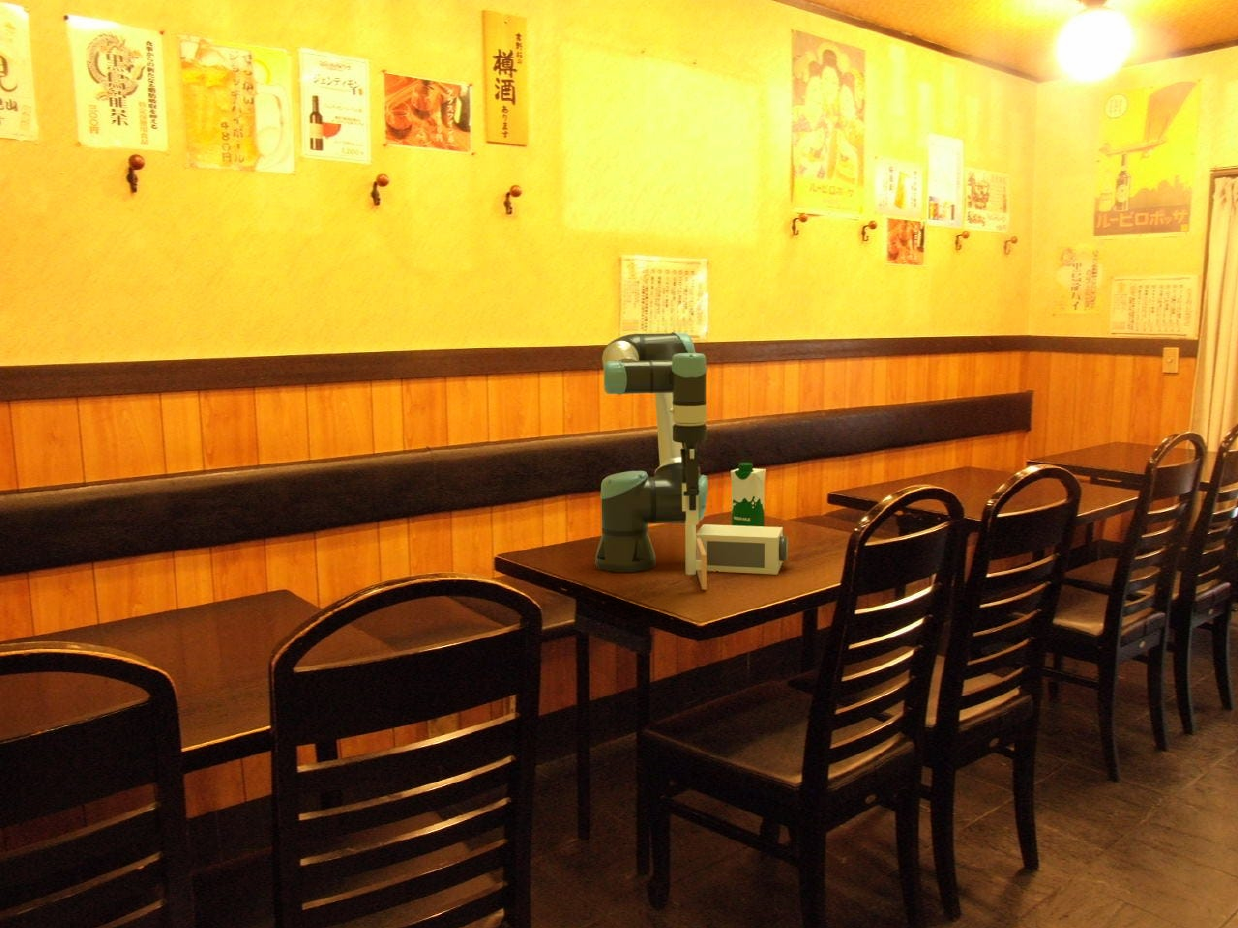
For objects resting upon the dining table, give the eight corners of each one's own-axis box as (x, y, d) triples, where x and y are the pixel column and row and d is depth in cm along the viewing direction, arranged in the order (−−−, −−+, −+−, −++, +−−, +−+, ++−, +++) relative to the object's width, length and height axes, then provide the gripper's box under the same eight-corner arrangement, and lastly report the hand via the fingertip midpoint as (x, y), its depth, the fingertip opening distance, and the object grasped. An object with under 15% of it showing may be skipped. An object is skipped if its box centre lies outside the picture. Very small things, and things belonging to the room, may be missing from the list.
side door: (680, 569, 239) (680, 506, 236) (700, 568, 239) (700, 506, 236) (686, 590, 221) (685, 522, 218) (707, 589, 221) (707, 522, 218)
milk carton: (727, 533, 280) (727, 463, 277) (741, 527, 287) (741, 459, 284) (756, 536, 275) (756, 465, 272) (769, 530, 282) (769, 461, 279)
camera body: (694, 570, 239) (694, 534, 238) (703, 558, 251) (703, 524, 250) (784, 574, 234) (784, 538, 232) (788, 562, 245) (789, 527, 244)
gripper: (669, 417, 229) (670, 505, 232) (675, 431, 204) (676, 530, 208) (701, 416, 229) (702, 505, 232) (711, 430, 204) (711, 530, 207)
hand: (690, 517), depth 220 cm, fingers open, 13 cm apart
